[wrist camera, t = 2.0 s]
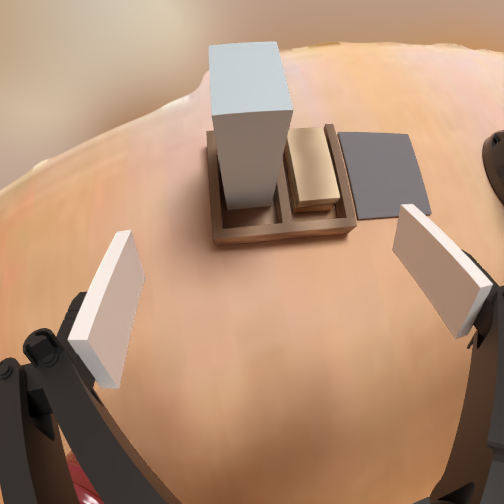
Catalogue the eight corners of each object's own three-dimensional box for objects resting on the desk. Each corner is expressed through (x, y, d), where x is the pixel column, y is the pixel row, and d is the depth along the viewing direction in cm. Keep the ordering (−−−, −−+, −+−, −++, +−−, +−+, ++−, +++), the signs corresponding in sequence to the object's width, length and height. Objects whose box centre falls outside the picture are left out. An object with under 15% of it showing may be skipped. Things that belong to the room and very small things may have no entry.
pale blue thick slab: (263, 153, 36) (276, 41, 19) (271, 206, 35) (293, 110, 17) (222, 156, 36) (208, 45, 19) (227, 210, 35) (211, 115, 17)
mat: (406, 135, 38) (407, 134, 37) (430, 214, 35) (431, 213, 35) (337, 133, 37) (338, 132, 37) (357, 219, 35) (358, 218, 35)
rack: (327, 136, 37) (333, 124, 34) (348, 233, 35) (356, 226, 32) (209, 144, 37) (206, 131, 34) (216, 245, 34) (213, 239, 31)
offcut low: (317, 145, 37) (320, 137, 35) (329, 211, 36) (333, 205, 34) (282, 146, 37) (284, 138, 35) (292, 213, 36) (294, 207, 34)
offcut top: (319, 136, 35) (322, 127, 33) (335, 203, 34) (340, 197, 32) (283, 138, 35) (285, 129, 33) (296, 207, 34) (299, 201, 32)
